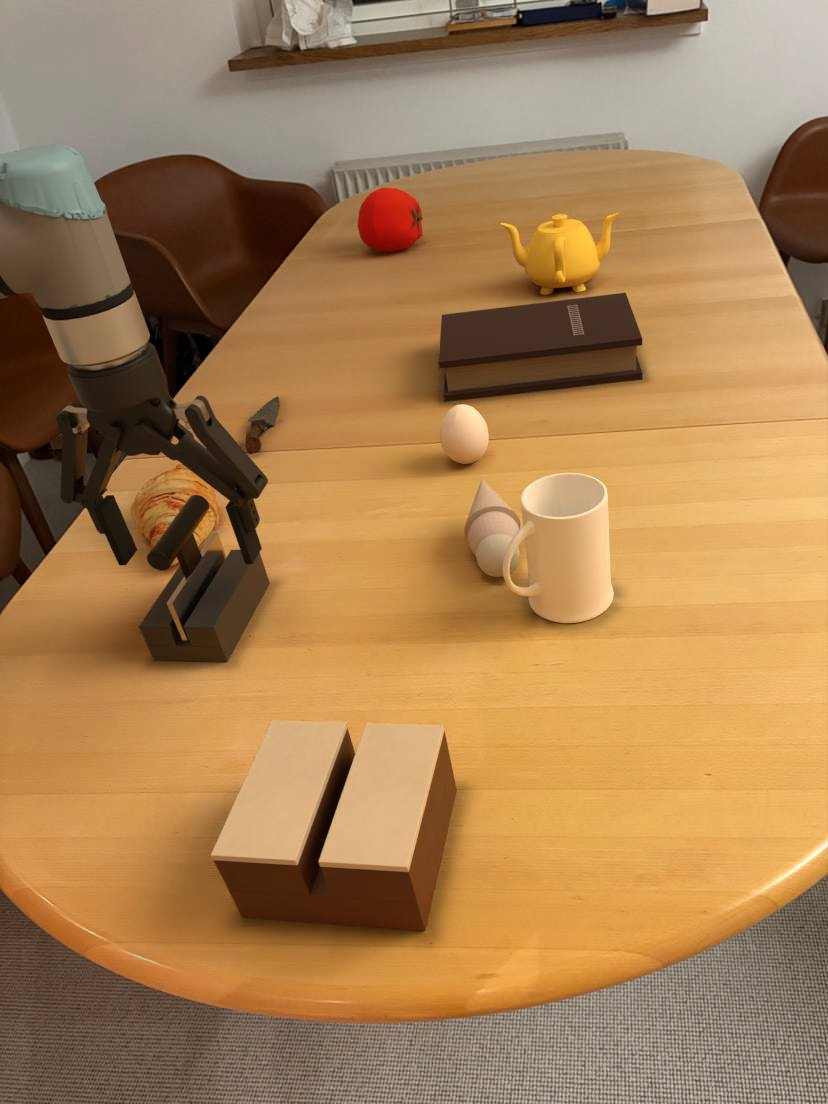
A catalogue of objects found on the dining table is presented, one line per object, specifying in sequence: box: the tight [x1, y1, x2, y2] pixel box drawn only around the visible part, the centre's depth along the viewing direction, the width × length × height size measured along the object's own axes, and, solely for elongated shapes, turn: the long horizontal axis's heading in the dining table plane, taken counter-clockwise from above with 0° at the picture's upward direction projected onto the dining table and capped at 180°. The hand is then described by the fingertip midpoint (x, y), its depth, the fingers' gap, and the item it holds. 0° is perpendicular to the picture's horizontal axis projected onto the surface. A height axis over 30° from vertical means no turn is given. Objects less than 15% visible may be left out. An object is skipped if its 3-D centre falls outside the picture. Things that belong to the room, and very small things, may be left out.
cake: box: [210, 719, 458, 932], centre depth 68 cm, size 14×13×8 cm
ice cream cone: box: [463, 478, 522, 578], centre depth 98 cm, size 6×6×15 cm
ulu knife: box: [146, 495, 227, 643], centre depth 91 cm, size 2×12×10 cm, turn 171°
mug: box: [503, 472, 615, 624], centre depth 87 cm, size 12×8×12 cm
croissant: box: [130, 463, 221, 567], centre depth 110 cm, size 21×10×8 cm, turn 10°
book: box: [438, 292, 643, 402], centre depth 134 cm, size 28×20×6 cm
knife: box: [244, 396, 280, 454], centre depth 130 cm, size 17×2×5 cm
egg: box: [439, 403, 490, 465], centre depth 113 cm, size 6×6×8 cm
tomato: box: [357, 187, 423, 253], centre depth 183 cm, size 13×13×13 cm
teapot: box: [500, 211, 621, 295], centre depth 155 cm, size 20×15×12 cm
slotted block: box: [138, 549, 271, 663], centre depth 95 cm, size 8×13×4 cm, turn 171°
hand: (190, 557), depth 91 cm, fingers open, 13 cm apart
